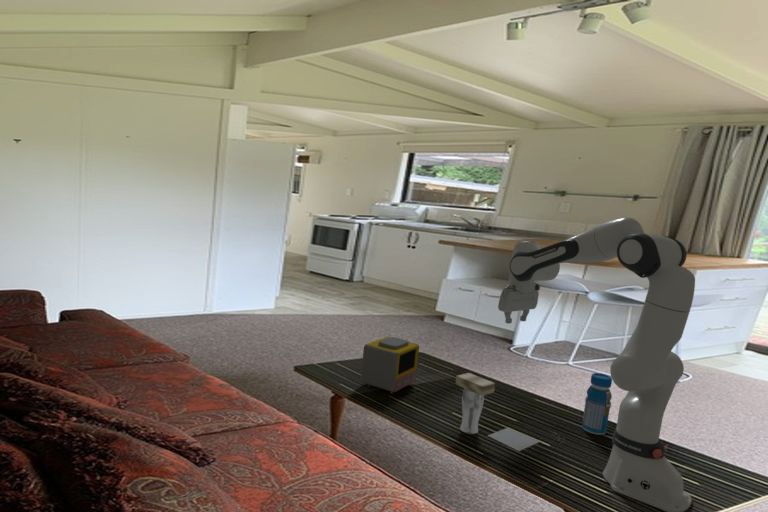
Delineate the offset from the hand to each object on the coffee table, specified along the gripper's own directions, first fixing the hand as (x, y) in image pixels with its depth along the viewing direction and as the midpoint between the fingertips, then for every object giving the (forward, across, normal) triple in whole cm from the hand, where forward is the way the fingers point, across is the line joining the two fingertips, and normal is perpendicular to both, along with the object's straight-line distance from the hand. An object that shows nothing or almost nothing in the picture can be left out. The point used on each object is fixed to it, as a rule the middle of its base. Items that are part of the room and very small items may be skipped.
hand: (515, 322), depth 187 cm
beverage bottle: (+34, +16, -27) cm, 47 cm away
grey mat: (+34, -18, -16) cm, 42 cm away
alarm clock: (+34, -22, +40) cm, 57 cm away
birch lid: (+19, -26, -4) cm, 33 cm away
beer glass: (+34, -26, -4) cm, 43 cm away
